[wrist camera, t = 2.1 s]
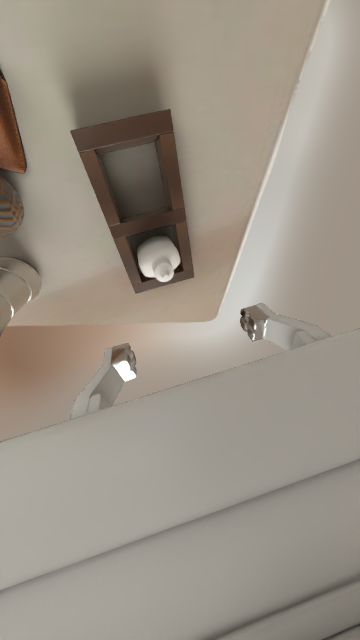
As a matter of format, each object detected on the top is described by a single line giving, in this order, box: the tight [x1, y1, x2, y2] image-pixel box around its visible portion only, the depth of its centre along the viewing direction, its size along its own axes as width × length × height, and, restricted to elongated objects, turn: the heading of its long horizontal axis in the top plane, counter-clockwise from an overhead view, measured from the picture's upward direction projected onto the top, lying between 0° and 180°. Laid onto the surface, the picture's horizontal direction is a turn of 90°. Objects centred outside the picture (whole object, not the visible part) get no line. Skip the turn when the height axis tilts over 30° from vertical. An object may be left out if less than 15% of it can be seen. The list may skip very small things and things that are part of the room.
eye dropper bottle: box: [137, 236, 180, 282], centre depth 25 cm, size 4×6×12 cm
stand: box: [70, 109, 194, 293], centre depth 25 cm, size 19×10×4 cm, turn 11°
